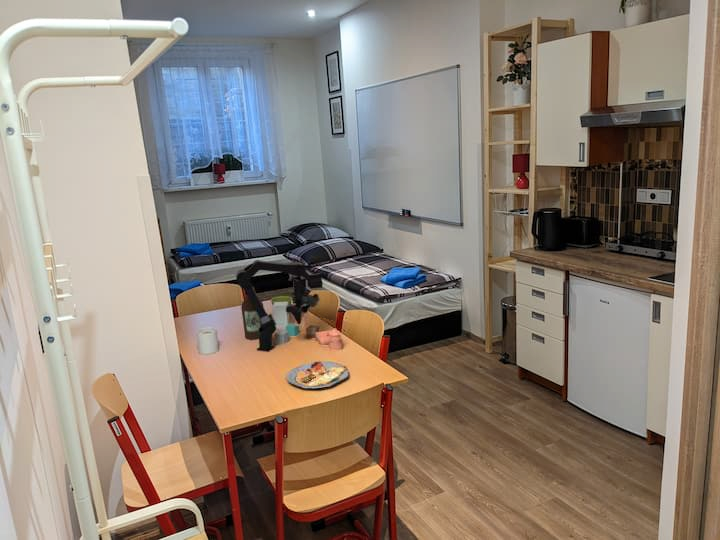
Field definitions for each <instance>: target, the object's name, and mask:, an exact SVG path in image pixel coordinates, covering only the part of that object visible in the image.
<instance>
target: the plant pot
mask: <svg viewBox="0 0 720 540" xmlns="http://www.w3.org/2000/svg"><path fill="white" fill-rule="evenodd" d="M293 300H294V297H291V296H288V295H287V296H286V295H285V296H284V295H280V296H275V297H272V298H271V299H270V303H271V305H272V306H273V304H274V303H275V302H288V306H289V305H290V304H292V302H293ZM290 317H291V313H289V319H290Z"/></svg>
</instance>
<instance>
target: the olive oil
mask: <svg viewBox="0 0 720 540" xmlns="http://www.w3.org/2000/svg"><path fill="white" fill-rule="evenodd" d="M253 288H254V289H255V286H253ZM259 300H260V302H261V304H262V306H263V307H264V303H263V301H262V299H260V298H259ZM264 308H265V307H264ZM241 316H242V323H243V329H244V337H245V339H246V340H251V341H255V340H259V332H258V329H259V328H260V327H261V326H262V324H261V321H260V317H259V316H258V314H257V312H256V310H255V308H254V306H253V304H252V302H251V301H250V299H249V297H248V295H246V298H245V299H244V300H243V301H242V303H241Z"/></svg>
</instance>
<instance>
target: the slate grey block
mask: <svg viewBox="0 0 720 540" xmlns="http://www.w3.org/2000/svg"><path fill="white" fill-rule="evenodd" d="M288 341H289V342H290V336H289V331H286V330H283V329H278V330H277V331H275V332H274V344H277V345H286V344H288V343H289V342H288ZM285 343H286V344H285Z"/></svg>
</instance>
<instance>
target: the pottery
mask: <svg viewBox="0 0 720 540" xmlns="http://www.w3.org/2000/svg"><path fill="white" fill-rule="evenodd" d="M315 336H316V339H315V341H316V340H317V341H318V342H319V343H318V342H317V341H316V342H317V343H318V345H320V344H321V345H328V350H329V349H330V350H329V351H331V350H339V351H341V350H343V347H344V346H343V342H342V341H341V339H342V337H341V331H340V330H338V329H337V328H336V327H335V328H332V329H329V330H323V331H320V332H316V333H315ZM321 345H320V346H321ZM340 349H341V350H340Z"/></svg>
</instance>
